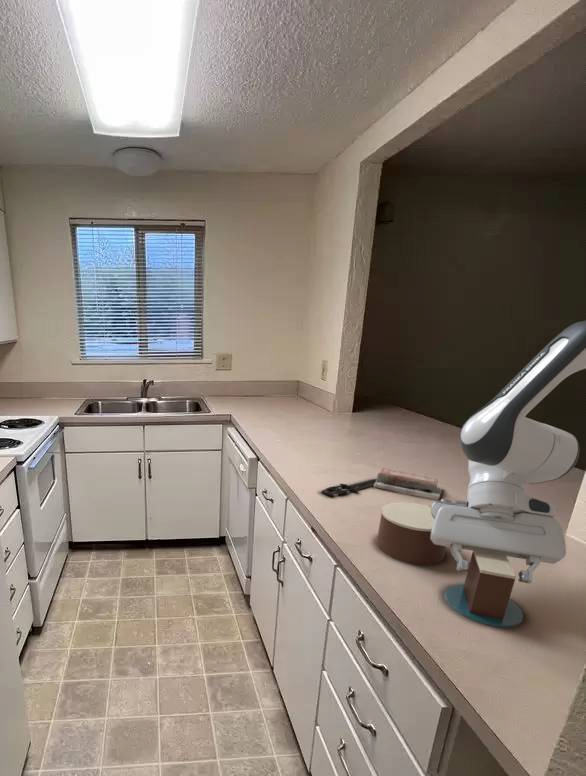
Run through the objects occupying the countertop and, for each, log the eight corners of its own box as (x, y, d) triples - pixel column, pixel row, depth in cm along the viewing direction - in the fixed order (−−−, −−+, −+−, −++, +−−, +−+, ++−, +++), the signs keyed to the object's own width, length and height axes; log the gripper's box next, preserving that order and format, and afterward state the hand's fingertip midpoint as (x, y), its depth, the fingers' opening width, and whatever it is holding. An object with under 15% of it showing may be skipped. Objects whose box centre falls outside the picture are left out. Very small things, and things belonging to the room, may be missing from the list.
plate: (512, 597, 83) (513, 593, 83) (530, 636, 73) (531, 632, 73) (441, 582, 88) (442, 579, 88) (448, 618, 78) (449, 614, 77)
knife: (378, 480, 142) (379, 476, 142) (394, 487, 137) (395, 483, 136) (316, 492, 133) (317, 487, 133) (330, 499, 128) (331, 495, 127)
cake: (440, 542, 104) (448, 507, 100) (447, 571, 92) (456, 534, 89) (376, 531, 109) (382, 498, 106) (375, 558, 97) (381, 522, 94)
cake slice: (493, 594, 83) (505, 553, 80) (503, 620, 76) (516, 576, 73) (463, 588, 85) (473, 548, 82) (469, 612, 78) (481, 569, 75)
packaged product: (375, 473, 133) (382, 464, 141) (372, 487, 135) (379, 478, 143) (442, 486, 124) (445, 476, 132) (438, 501, 126) (441, 491, 133)
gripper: (435, 491, 84) (430, 559, 79) (568, 507, 76) (572, 585, 71) (429, 503, 89) (424, 568, 84) (553, 520, 81) (555, 592, 76)
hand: (493, 576), depth 77 cm, fingers open, 8 cm apart
